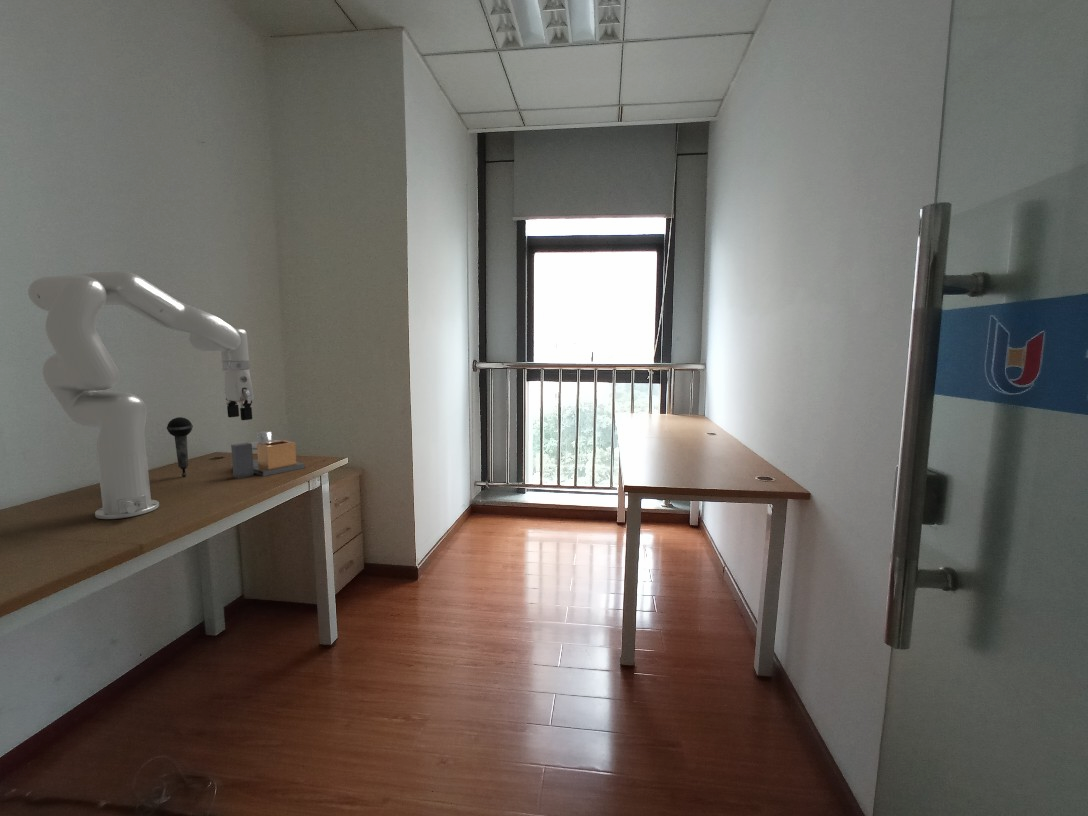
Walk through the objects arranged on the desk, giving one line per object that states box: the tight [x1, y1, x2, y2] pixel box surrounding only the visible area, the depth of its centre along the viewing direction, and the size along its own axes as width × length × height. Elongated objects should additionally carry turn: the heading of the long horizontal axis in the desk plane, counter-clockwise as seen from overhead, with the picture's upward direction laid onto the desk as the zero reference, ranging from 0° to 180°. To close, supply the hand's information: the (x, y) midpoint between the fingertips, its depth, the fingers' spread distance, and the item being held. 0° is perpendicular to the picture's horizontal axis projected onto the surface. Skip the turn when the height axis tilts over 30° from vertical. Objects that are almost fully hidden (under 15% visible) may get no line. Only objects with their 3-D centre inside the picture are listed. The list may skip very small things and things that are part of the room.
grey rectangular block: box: [230, 442, 255, 479], centre depth 157 cm, size 3×5×11 cm, turn 145°
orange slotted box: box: [250, 430, 306, 477], centre depth 168 cm, size 20×14×12 cm
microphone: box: [166, 416, 194, 478], centre depth 155 cm, size 7×7×20 cm
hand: (240, 418), depth 155 cm, fingers open, 9 cm apart
